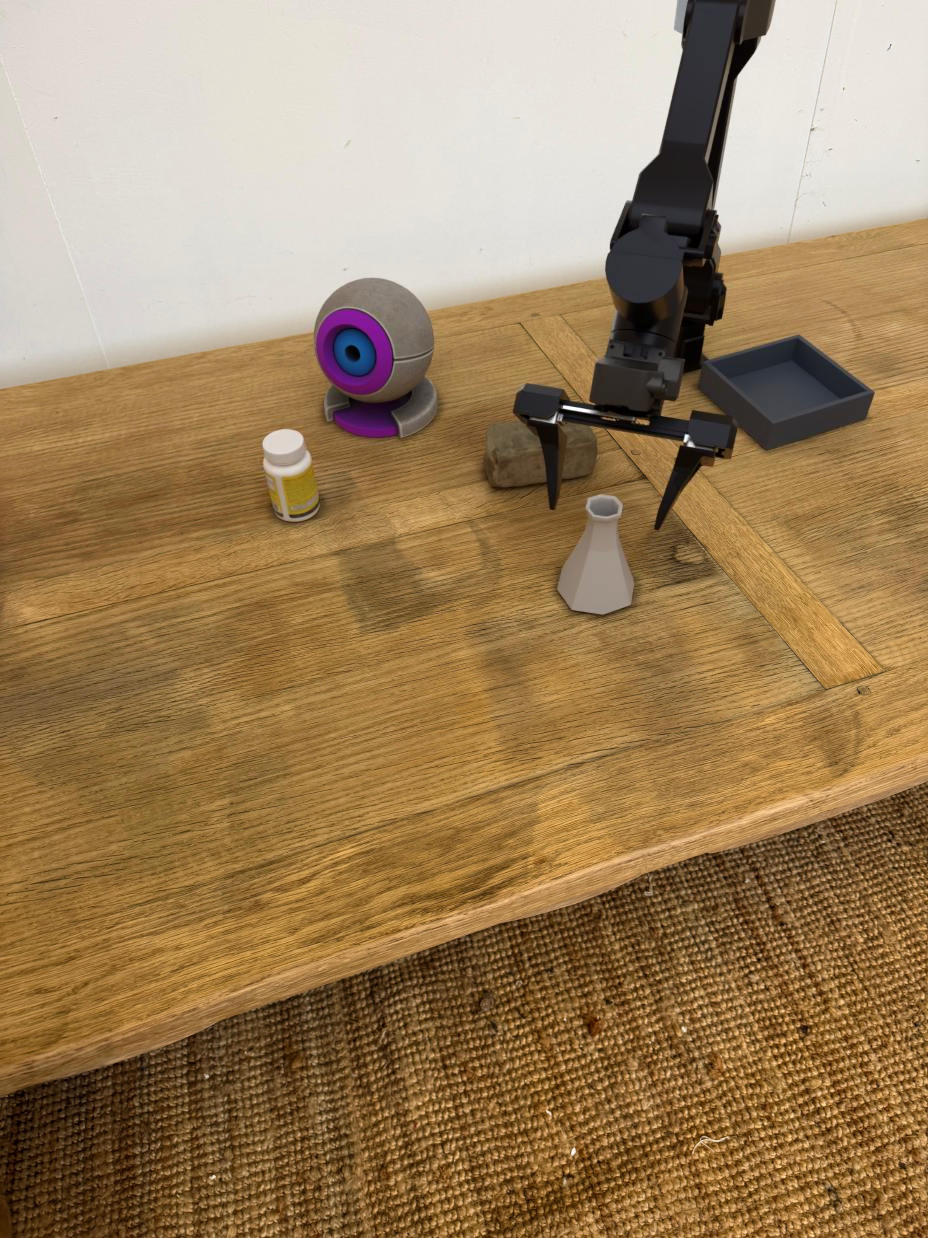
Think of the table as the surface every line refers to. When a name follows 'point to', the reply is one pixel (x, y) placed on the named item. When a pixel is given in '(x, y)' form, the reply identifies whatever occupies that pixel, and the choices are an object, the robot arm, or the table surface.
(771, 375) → the dark grey square tray
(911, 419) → the table surface
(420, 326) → the webcam
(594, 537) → the flask
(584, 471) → the stone block
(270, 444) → the supplement bottle
